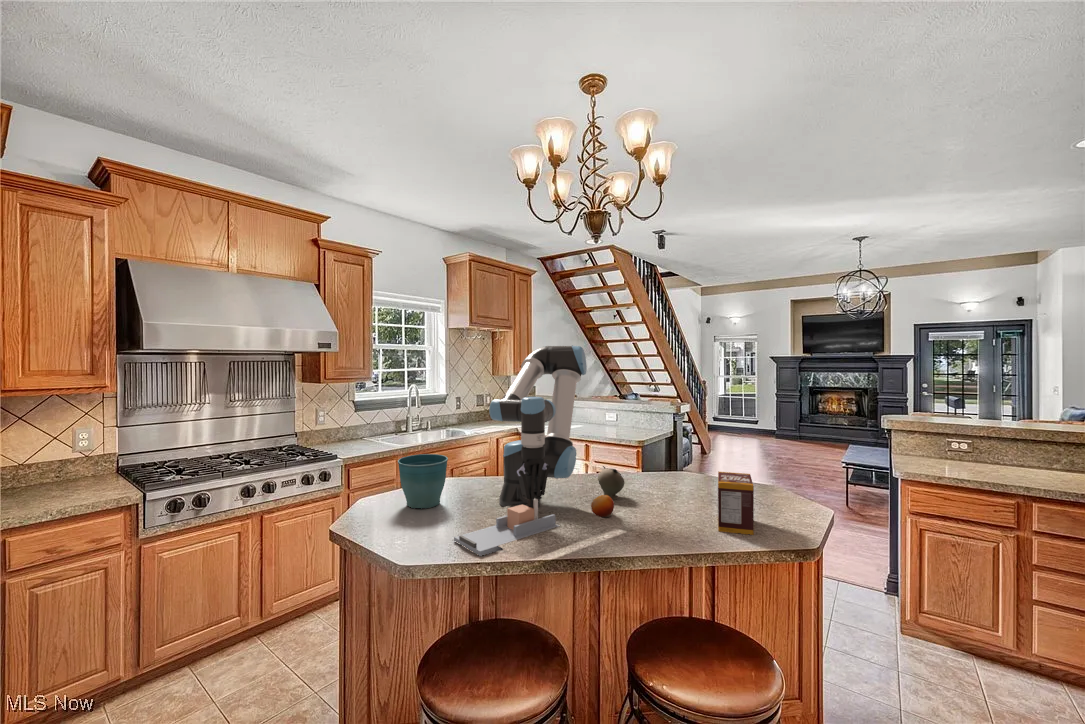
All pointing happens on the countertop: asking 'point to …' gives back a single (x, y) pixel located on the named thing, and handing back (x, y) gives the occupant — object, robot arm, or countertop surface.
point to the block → (519, 515)
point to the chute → (503, 534)
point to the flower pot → (423, 479)
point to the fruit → (602, 506)
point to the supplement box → (735, 503)
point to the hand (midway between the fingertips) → (533, 518)
